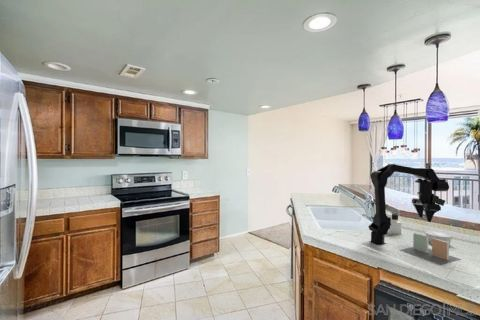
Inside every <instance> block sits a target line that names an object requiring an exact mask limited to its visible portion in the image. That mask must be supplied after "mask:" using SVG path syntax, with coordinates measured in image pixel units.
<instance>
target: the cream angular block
mask: <svg viewBox="0 0 480 320" xmlns="http://www.w3.org/2000/svg"><path fill="white" fill-rule="evenodd" d="M431 250H432V255H433V256H436V257H439V258H442V259H445V260H449V255H450V245H449V242H446V241H443V240H439V239H436V238H432V243H431Z"/></svg>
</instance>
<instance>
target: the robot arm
mask: <svg viewBox="0 0 480 320" xmlns="http://www.w3.org/2000/svg"><path fill="white" fill-rule="evenodd" d="M395 172H396V173H402V174H408V175H412V176H413V177H414V176H415V177H416V178H417V179H416V180H415V181H414V182H415V183H418V191H417V195H418V197H417V198H414V197H413V198H412V199H411V204H412V205H413V207H414V209H415V211H416V212H417V215H418V217H419V218H423V215H425V218H426V221H427V223H431V222H432V220H433V218H434V215H435V213H437V212H439V211H442V207H444V205H445V203H446V200H445V199H442V198H440V196H438V195H435V193H433V192H447V191H449V189H450V184H449V183H448V181H447V179H446V178H439V177H438V175H437V174H436V172H435V169H433V168H427V167H412V166H411V167H409V166H406V165H399V164H396V163H388V164H386V165H385V166H383V167H381V168H379V169H377V170H374V171H372V172H371V173H370V181H371V184H372V186H373V187H374V202H375V214H374V215H373V218H372V219H373V220H372V222H371V223H370V224H369V225H368V229H369V231H370V240H369V243H371V244H374V245H377V246H383V245H387V243H386V242H385V236H387V234H388V233H387V232H388V230H389V229H390V225H391V218H390V217H388V216H387V211H386V209H387V207H386V186H387V185H388V179H389V178H391V176H392V175H393V174H394V173H395Z"/></svg>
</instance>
